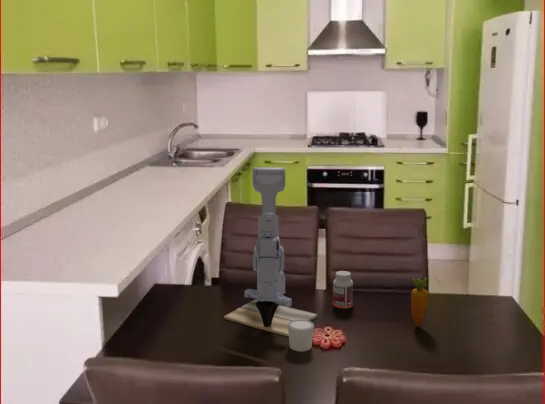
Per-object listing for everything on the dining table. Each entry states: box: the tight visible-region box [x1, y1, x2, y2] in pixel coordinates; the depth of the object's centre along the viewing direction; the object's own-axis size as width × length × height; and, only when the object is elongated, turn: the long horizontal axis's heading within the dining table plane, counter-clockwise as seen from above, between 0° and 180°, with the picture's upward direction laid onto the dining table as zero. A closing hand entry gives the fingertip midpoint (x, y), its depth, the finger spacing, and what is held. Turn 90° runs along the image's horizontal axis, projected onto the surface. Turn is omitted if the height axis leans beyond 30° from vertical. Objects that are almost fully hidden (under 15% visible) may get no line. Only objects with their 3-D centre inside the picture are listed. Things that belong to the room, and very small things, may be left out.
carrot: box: [410, 277, 429, 328], centre depth 174 cm, size 5×5×15 cm
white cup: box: [288, 320, 315, 352], centre depth 160 cm, size 7×7×7 cm
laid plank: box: [240, 298, 318, 322], centre depth 183 cm, size 8×22×2 cm, turn 57°
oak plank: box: [223, 307, 291, 337], centre depth 176 cm, size 8×22×2 cm, turn 57°
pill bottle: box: [332, 270, 354, 309], centre depth 189 cm, size 6×6×11 cm
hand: (267, 325), depth 172 cm, fingers closed, pressing on oak plank
